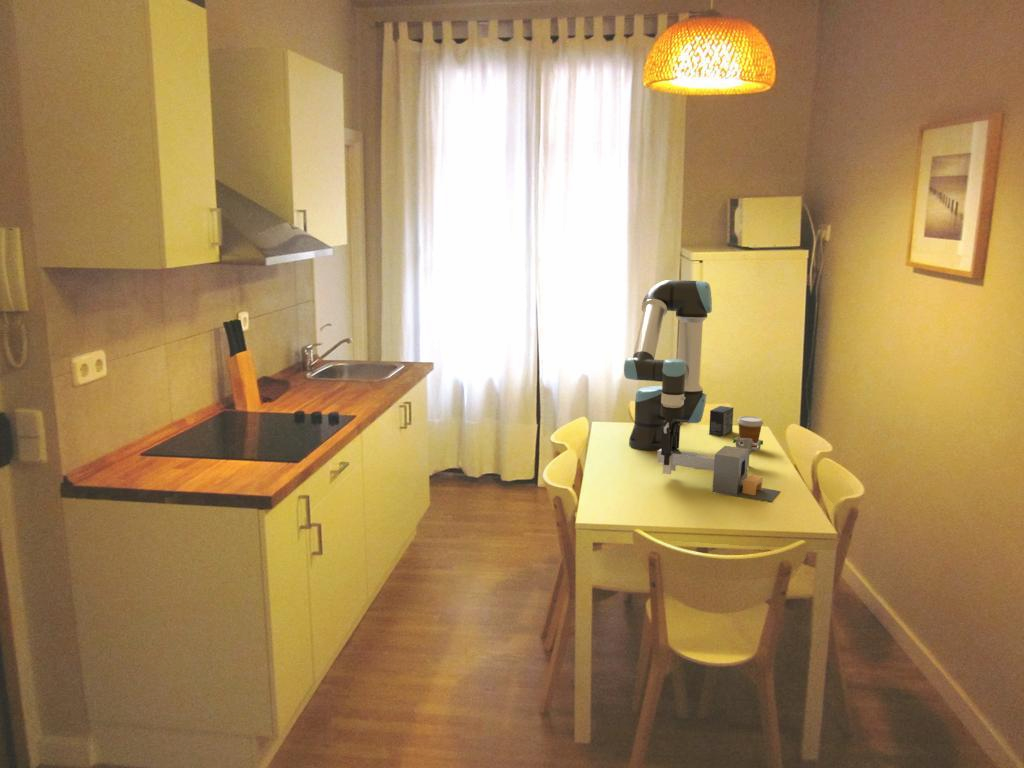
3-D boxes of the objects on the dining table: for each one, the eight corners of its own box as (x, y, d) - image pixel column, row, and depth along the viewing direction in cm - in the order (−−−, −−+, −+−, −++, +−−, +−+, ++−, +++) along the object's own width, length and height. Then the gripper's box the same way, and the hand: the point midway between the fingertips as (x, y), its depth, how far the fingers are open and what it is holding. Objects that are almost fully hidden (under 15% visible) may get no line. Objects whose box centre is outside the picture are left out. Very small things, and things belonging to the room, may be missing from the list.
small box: (718, 429, 359) (719, 405, 357) (732, 431, 355) (734, 407, 353) (708, 434, 350) (709, 409, 348) (723, 437, 346) (724, 412, 344)
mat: (733, 496, 274) (733, 494, 274) (743, 485, 285) (743, 484, 284) (771, 502, 269) (771, 501, 268) (779, 492, 279) (779, 490, 279)
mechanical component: (761, 467, 305) (763, 440, 303) (731, 465, 307) (733, 439, 305) (760, 465, 308) (762, 438, 306) (731, 463, 310) (733, 437, 308)
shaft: (657, 462, 290) (657, 450, 289) (661, 459, 293) (661, 448, 292) (732, 474, 277) (733, 462, 276) (736, 471, 281) (736, 459, 280)
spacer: (742, 492, 276) (743, 479, 275) (749, 487, 282) (750, 474, 281) (754, 495, 274) (755, 482, 273) (761, 489, 280) (762, 476, 279)
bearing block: (712, 492, 278) (714, 454, 275) (722, 482, 288) (724, 445, 285) (736, 496, 274) (739, 457, 271) (746, 486, 284) (748, 449, 281)
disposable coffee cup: (734, 450, 327) (736, 420, 325) (737, 444, 336) (739, 414, 333) (759, 453, 323) (761, 422, 321) (762, 447, 332) (764, 417, 330)
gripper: (674, 411, 277) (671, 480, 281) (691, 401, 291) (687, 467, 296) (653, 408, 280) (650, 476, 285) (670, 399, 295) (666, 463, 299)
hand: (669, 471), depth 290 cm, fingers closed on shaft, 4 cm apart
